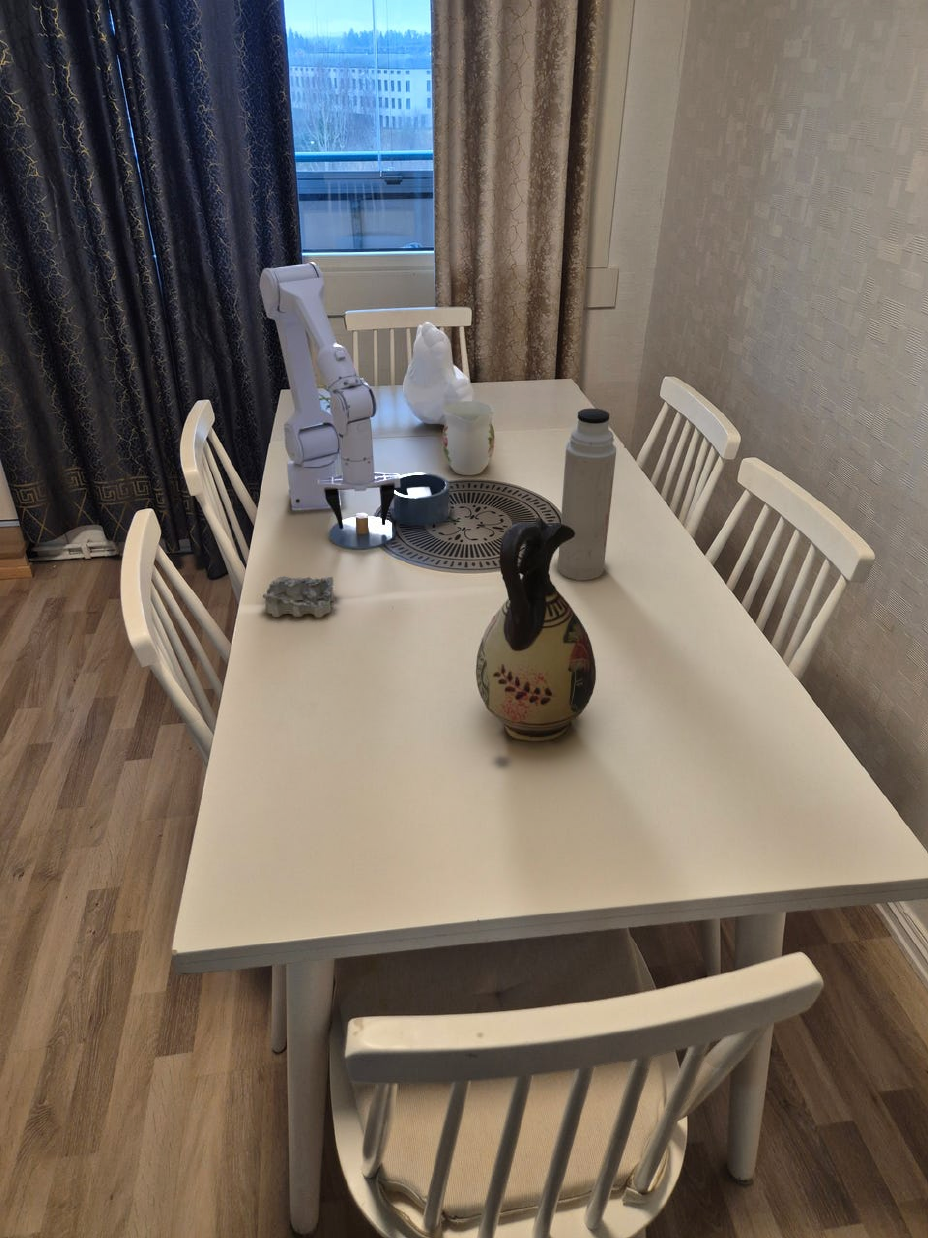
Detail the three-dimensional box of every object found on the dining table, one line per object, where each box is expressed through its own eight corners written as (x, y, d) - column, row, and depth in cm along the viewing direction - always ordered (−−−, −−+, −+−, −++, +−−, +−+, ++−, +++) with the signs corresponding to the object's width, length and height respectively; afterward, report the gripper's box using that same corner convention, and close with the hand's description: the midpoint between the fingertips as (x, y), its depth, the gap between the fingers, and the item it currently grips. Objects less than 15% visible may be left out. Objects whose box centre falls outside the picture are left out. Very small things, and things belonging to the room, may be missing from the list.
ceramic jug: (519, 669, 122) (528, 478, 105) (612, 713, 114) (637, 514, 97) (443, 730, 111) (440, 527, 95) (539, 783, 103) (554, 572, 86)
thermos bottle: (605, 559, 149) (621, 405, 133) (602, 582, 142) (618, 423, 127) (560, 555, 150) (570, 402, 134) (555, 577, 144) (565, 419, 128)
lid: (331, 555, 150) (328, 533, 148) (328, 524, 160) (326, 503, 158) (399, 549, 152) (398, 528, 149) (392, 519, 162) (391, 498, 159)
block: (409, 518, 161) (408, 497, 158) (407, 508, 165) (406, 487, 162) (432, 516, 162) (432, 495, 159) (429, 506, 165) (429, 486, 163)
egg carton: (262, 618, 134) (258, 596, 131) (274, 592, 140) (270, 571, 138) (329, 619, 133) (326, 598, 131) (337, 594, 139) (335, 573, 137)
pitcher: (490, 450, 190) (491, 390, 182) (496, 484, 175) (497, 420, 167) (442, 451, 190) (441, 391, 182) (443, 484, 175) (442, 421, 167)
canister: (393, 530, 158) (392, 500, 154) (388, 504, 167) (386, 474, 164) (453, 526, 159) (453, 495, 156) (445, 500, 169) (444, 470, 165)
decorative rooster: (397, 381, 209) (389, 317, 185) (457, 365, 211) (457, 299, 187) (426, 468, 202) (422, 413, 178) (489, 450, 204) (493, 393, 180)
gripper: (315, 466, 143) (323, 537, 150) (400, 461, 145) (404, 531, 152) (314, 451, 149) (322, 520, 156) (396, 445, 151) (400, 514, 158)
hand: (362, 524), depth 155 cm, fingers open, 7 cm apart
